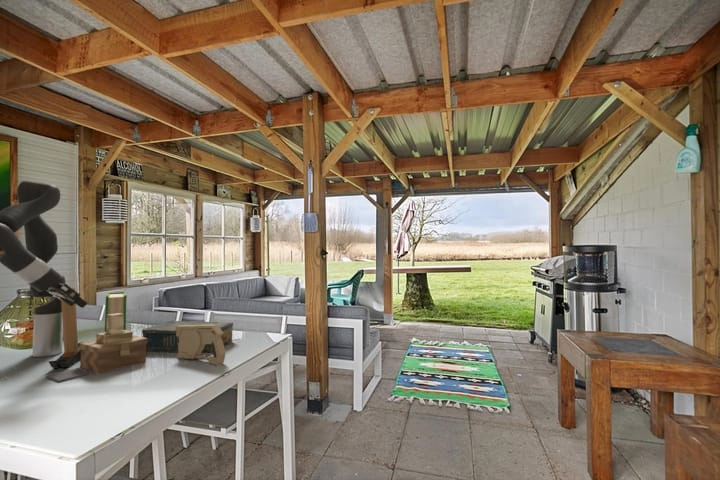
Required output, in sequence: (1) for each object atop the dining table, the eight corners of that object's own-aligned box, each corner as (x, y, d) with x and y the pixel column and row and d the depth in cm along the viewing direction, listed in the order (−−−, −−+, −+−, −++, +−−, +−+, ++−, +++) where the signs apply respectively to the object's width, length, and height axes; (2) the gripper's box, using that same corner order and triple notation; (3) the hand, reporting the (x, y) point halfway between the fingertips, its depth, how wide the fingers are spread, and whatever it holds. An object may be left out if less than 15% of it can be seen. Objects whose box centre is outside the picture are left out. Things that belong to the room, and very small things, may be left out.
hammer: (66, 375, 125) (62, 296, 121) (49, 376, 123) (44, 296, 119) (90, 350, 144) (87, 281, 140) (75, 351, 142) (72, 281, 138)
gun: (227, 363, 131) (225, 324, 132) (220, 366, 128) (218, 325, 129) (183, 361, 141) (181, 324, 142) (176, 363, 138) (174, 326, 139)
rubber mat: (45, 377, 117) (46, 375, 117) (77, 369, 125) (77, 367, 125) (58, 382, 112) (58, 380, 112) (90, 374, 120) (90, 372, 120)
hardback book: (124, 350, 150) (126, 295, 151) (103, 352, 146) (105, 296, 147) (124, 341, 165) (126, 291, 166) (105, 343, 160) (107, 292, 161)
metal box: (171, 340, 168) (171, 320, 169) (234, 342, 165) (234, 321, 165) (139, 352, 147) (139, 329, 147) (210, 354, 144) (211, 330, 144)
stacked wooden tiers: (78, 367, 127) (80, 334, 127) (127, 355, 141) (128, 326, 142) (98, 374, 119) (99, 339, 120) (147, 361, 134) (148, 330, 134)
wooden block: (106, 341, 130) (106, 314, 130) (117, 338, 133) (118, 313, 134) (111, 342, 128) (112, 315, 128) (123, 340, 131) (123, 313, 132)
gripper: (58, 266, 111) (97, 297, 120) (40, 265, 118) (79, 295, 127) (35, 283, 106) (79, 315, 115) (18, 282, 113) (60, 311, 122)
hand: (79, 304), depth 121 cm, fingers open, 8 cm apart
